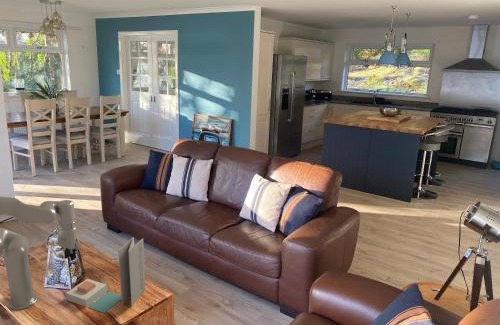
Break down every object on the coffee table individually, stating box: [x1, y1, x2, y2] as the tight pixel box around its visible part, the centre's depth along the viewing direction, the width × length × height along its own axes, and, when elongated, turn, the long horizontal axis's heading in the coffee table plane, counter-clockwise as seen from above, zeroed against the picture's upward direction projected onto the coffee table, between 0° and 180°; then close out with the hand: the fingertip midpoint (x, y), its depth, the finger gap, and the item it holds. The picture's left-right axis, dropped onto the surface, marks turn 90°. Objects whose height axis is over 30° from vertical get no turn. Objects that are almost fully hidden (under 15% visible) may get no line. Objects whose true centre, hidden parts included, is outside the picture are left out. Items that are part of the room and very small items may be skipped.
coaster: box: [77, 280, 96, 294], centre depth 191 cm, size 6×6×2 cm
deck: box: [65, 278, 108, 308], centre depth 191 cm, size 13×14×4 cm
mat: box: [87, 291, 122, 314], centre depth 187 cm, size 10×14×1 cm
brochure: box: [117, 236, 146, 307], centre depth 188 cm, size 14×6×30 cm, turn 168°
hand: (70, 258), depth 190 cm, fingers open, 3 cm apart
